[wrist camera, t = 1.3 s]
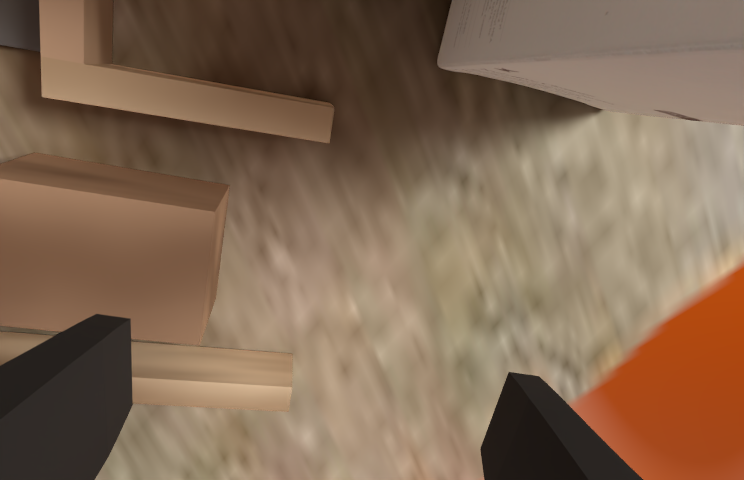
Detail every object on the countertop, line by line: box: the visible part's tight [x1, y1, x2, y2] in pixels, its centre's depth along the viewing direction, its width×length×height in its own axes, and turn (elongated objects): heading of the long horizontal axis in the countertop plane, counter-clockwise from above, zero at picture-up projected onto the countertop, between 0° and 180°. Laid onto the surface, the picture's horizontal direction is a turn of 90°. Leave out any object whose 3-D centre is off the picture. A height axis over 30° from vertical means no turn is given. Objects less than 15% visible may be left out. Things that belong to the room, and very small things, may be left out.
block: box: [0, 153, 230, 346], centre depth 18 cm, size 5×7×4 cm
